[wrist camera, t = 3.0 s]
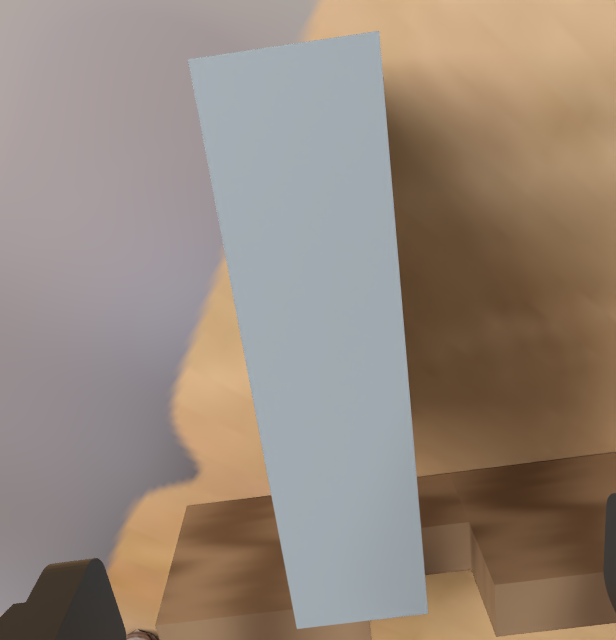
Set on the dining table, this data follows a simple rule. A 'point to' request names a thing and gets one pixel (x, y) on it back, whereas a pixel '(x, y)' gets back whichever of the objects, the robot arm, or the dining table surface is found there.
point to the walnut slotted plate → (438, 552)
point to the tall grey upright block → (320, 315)
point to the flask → (139, 636)
